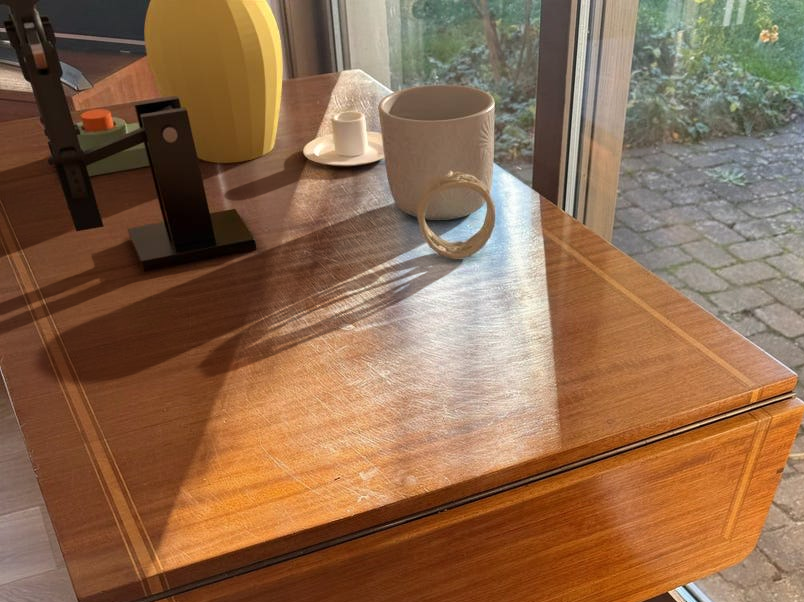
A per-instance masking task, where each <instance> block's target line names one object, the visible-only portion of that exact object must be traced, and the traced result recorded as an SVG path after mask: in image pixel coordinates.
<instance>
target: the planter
mask: <svg viewBox="0 0 804 602" xmlns="http://www.w3.org/2000/svg"><path fill="white" fill-rule="evenodd" d="M495 104H496V103H495V99H494V97H493V96H492V95H491V94H490V93H488V92H487V91H484V90H483V89H479V88H477V87H473V86H468V85H461V84H428V85H427V84H425V85H419V86H412V87H407V88H403V89H400V90H397V91H394V92H393V93H392V92H391V93H390V94H387V95H386V96H384V97H383V98H382V99H381V100H380V101H379V103H378V106H377V109H378V117H379V125H380V133H381V134H382V142H383V150H384V158H383V159H384V165H385V171H386V176H387V182H388V187H389V190H390V193H391V197H392V199H393V201H394V203H395V205H396V206H397V207H398V208H399V209H400V210H401V211H403V212H404V213H406V214H408V215H410V216H412V217H414V218H417V219H418V217H417V206H418V200H419V196H420V194H421V192H422V190H423V188H424V187H425V185H426V184H428V183H429V182H430V181H431V180H432V179H434V178H435V177H437V176H440V175H443V174H444V175H445V174H448V172H449V171H452V172H460V173H463V174H468V175H472V176H474V177H475V178H477V179H478V180H479V181H481V182H482V183H483V184H484V185H485V187H486V188H487V189H488V190H489V192H490V193H491V191H492V186H493V175H494V174H493V173H494V162H495V161H494V159H495ZM485 203H486V201H485V199H484V198H483V197H482V196H481V195H480V194H479V193H478V192H476V191H475V190H473V189H470V188H450V189H446V190H444V191H441V192H440V193H439V194H437V195H436V196H435V197H434V198H433V199H432V201H431V202H430V203H429V205H428V207H427V208H426V211H425V216H424V219H425V220H429V221H448V220H449V221H450V220H455V219H459V218H460V219H461V218H463V217H467V216H470V215H472V214H473V213H475V212H476V211H478V210H480V209H481V207H483V206H484V205H486V204H485Z"/></svg>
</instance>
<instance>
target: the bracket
mask: <svg viewBox="0 0 804 602" xmlns="http://www.w3.org/2000/svg"><path fill="white" fill-rule="evenodd" d="M169 105H170V106H171V108H172V110H165V111H159V112H155V111H157V110H159V109H162V108H164V107H167V106H169ZM133 107H134V111H135V115H136V119H137V123H139V127H140V128H142V127H143V128H144V132H145V136H146V140H147V141H146V142H143V143H144V147H145V151H146V155H147V159H148V162H149V166H148V167H149V170H150V175H151V178H152V182H153V186H154V190H155V194H156V198H157V201H158V205H159V209H160V213H161V217H162V222H156V223H151V224H145V225H140V226H135V227H130V228H127V229H126V230H127V233H128V236H129V240H130V242H131V245H132V247H133V249H134V251H135V254H136V256H137V258H138V262H139V264H140V265H141V267H142V270H143V272H144V273H148V272H152V271H157V270H163V269H167V268H172V267H173V268H174V267H176V266H177V267H178V266H181V265H187V264H193V263H198V262H203V261H207V260H212V259H217V258H221V257H226V256H231V255H236V254H237V255H238V254H242V253H247V252H252V251H256V250H258V248H257V242H256V238H255V237H254V235H253V234H252V232H251V231H250V229H249V228H248V226H247V225H246V223H245V221H244V220H243V219H242V217H241V215H240V214H239V213H238V211H237V210H236V208H231V209H226V210H221V211H220V210H219V211H216V212H210V208H209V203H208V198H207V193H206V189H205V185H204V182H203V176H202V171H201V167H200V162H199V158H198V157H197V153H196V148H195V144H194V139H193V135H192V130H191V126H190V121H189V117H188V112H187V110H186V108H185V107H184V108H181V105H180V101H179V98H178V96H173V97H166V98H163V97H161V98H160V97H159V98H155V99H148V100H142V101H134V102H133ZM152 112H153V113H152Z"/></svg>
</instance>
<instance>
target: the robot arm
mask: <svg viewBox="0 0 804 602" xmlns="http://www.w3.org/2000/svg"><path fill="white" fill-rule="evenodd" d="M39 1H40V0H0V5H5V6H7V8H8V11H9V12H7V15H8V16H7V19H3V20H2V23H3V26H4V30H5V32H6V36H7V39H8V42H9V45H10V47H11V49H13V50H14V52H15V56H16V58H17V61H18V65H19V68H20V70H21V73H22V76H23V78H24V80H25V81H26V82H28V83H29V84H30V87H31V89H32V93H33V97H34V100H35V103H36V106H37V109H38V113H39V115H40V117H39V121H40V123H41V124H42V126H43V128H44V129H43V133H44V135H45V136H46V137H47V140H48V141H47V145H48V148H49V151H50V154H51V157H47V158H46V160H47V164H48V166H49V167H50V166H54V167H55V170H56V174H57V177H58V181H59V183H60V186H61V190H62V193H63V197H64V199H65V203H66V206H67V209H68V211H69V214H70V217H71V220H72V223H73V226H74V229H75V232H83V231H87V230H93V229H98V228H104V227H105V226H104V223H103V218H102V216H101V212H100V209H99V206H98V202H97V198H96V195H95V191H94V189H93V185H92V182H91V178H90V176H89V174H88V171H87V167H86V164H85V160H84V152H83V149H81V148H80V144H79V141H78V137H77V135H80V130H79V127H78V125H75V123H74V121H73V117H72V113H71V110H70V107H69V103H68V100H67V97H66V93H65V89H64V86H63V83H62V79H61V78H62V77H63V75H64V74H63V73H64V71H63V68H62V63H61V62H60V61H61V60H60V59H59V58H60V57H59V54H58V52H57V48H56V43H57V37H56V35H55V31H54V27H53V25H52V22H51V21H50V19H49V16H48V14H46V15H45V14H44V15H40V12H39V10H38V7H37V3H38V2H39Z"/></svg>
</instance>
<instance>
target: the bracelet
mask: <svg viewBox="0 0 804 602" xmlns="http://www.w3.org/2000/svg"><path fill="white" fill-rule="evenodd" d="M450 188H470V189H473V190H475V191H476V192H478V193H479V194H480V195H481V196H482V197H483V198H484V199H485V201H486V202H485V203H486V204H485V205H486V212H485V217H484V222H483V224H482V226H481V228H480V229H479V230H478V231H477V232H476V233H475V234H473V235H472V236H470V237H469V238H468V239H466V241H462V240H459V241H455V242H451V241H447V240H445V239H443V238H441V237H439V236H438V235H437V234H435V233H434V232H433V231H432V230H431V229H430V228H429V226H428V224H427V222H426V219H424V216H425V211H426V208H427V207H428V205H429V203H430V202H431V201H432V199H433V198H434V197H435V196H436V195H437V194H439V193H440V192H441V191H444V190H446V189H450ZM417 217H418V218H417ZM417 217H416V218H417V221H418V224H419V227H420V231H421V236H423V239H424V240H425V242H426V243H427V245H428V246H429V248H430V249H432V250H433V251H434V252H436V254H437V255H439V256H441V257H446V258H449V259H453V260H460V259H461V260H463V259H466V258H469V257H471V256H472V255H475V254H476V253H477V252H479V251H480V250H482V248H484V246H485V245H487V242H488V241H489V240H490V238H491V236H492V233H493V231H494V229H495V222H496V205H495V204H494V200H493V196H492V195H491V191H490V192H489V190H488V189H487V188H486V187H485V185H484V184H483V183H482V182H481V181H479V180H478V179H477V178H475V177H474V176H472V175H468V174H463V173H460V172H452V171H449V172H448V174H445V175H444V174H443V175H440V176H437V177H435V178H434V179H432V180H431V181H430V182H429V183H428V184H426V185H425V187H424V188H423V190H422V192H421V194H420V196H419V200H418V206H417Z"/></svg>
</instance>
